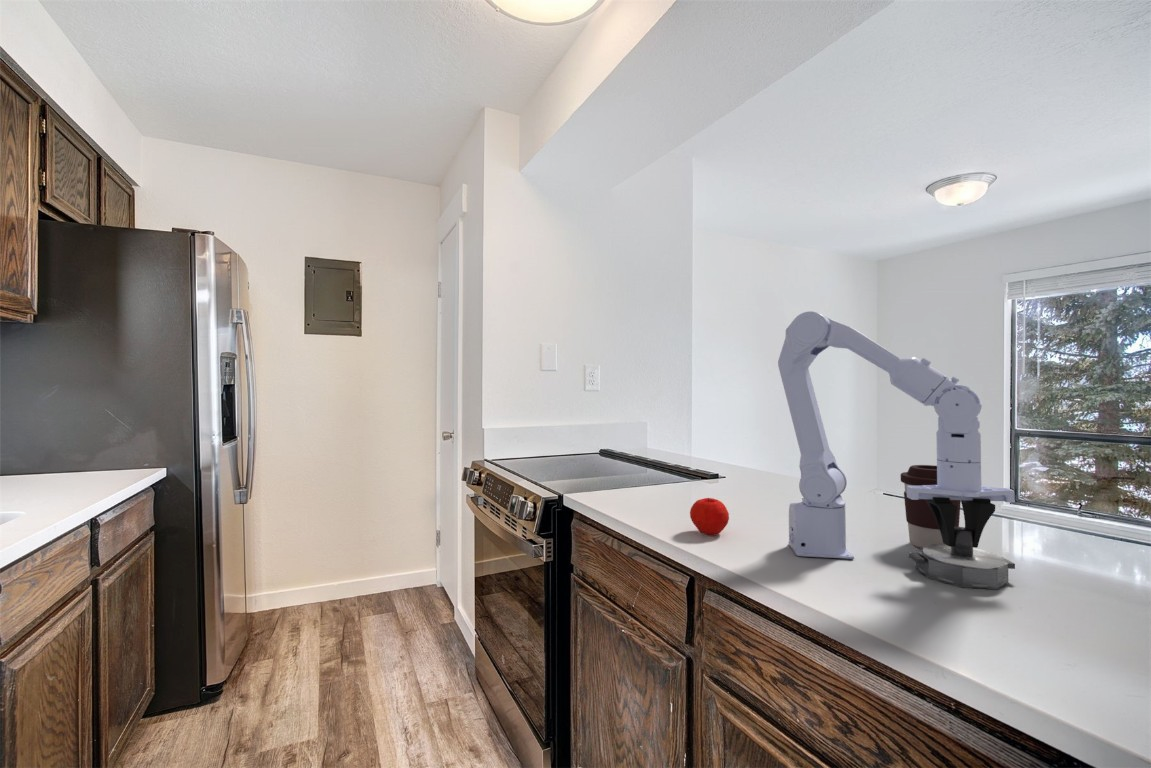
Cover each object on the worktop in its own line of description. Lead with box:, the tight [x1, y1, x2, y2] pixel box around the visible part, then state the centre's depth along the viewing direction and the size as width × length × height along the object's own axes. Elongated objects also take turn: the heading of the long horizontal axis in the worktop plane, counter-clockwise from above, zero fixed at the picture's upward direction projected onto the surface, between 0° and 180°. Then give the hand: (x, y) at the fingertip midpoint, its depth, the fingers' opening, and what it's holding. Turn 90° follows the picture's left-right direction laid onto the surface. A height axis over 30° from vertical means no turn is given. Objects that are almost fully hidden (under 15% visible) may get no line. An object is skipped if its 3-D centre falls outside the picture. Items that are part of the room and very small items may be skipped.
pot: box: [908, 548, 1016, 590], centre depth 82 cm, size 14×11×3 cm
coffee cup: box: [900, 464, 962, 549], centre depth 97 cm, size 10×10×15 cm
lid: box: [923, 526, 1005, 569], centre depth 82 cm, size 10×10×5 cm
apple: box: [689, 497, 730, 536], centre depth 107 cm, size 8×8×7 cm
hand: (959, 545), depth 82 cm, fingers closed on lid, 3 cm apart
